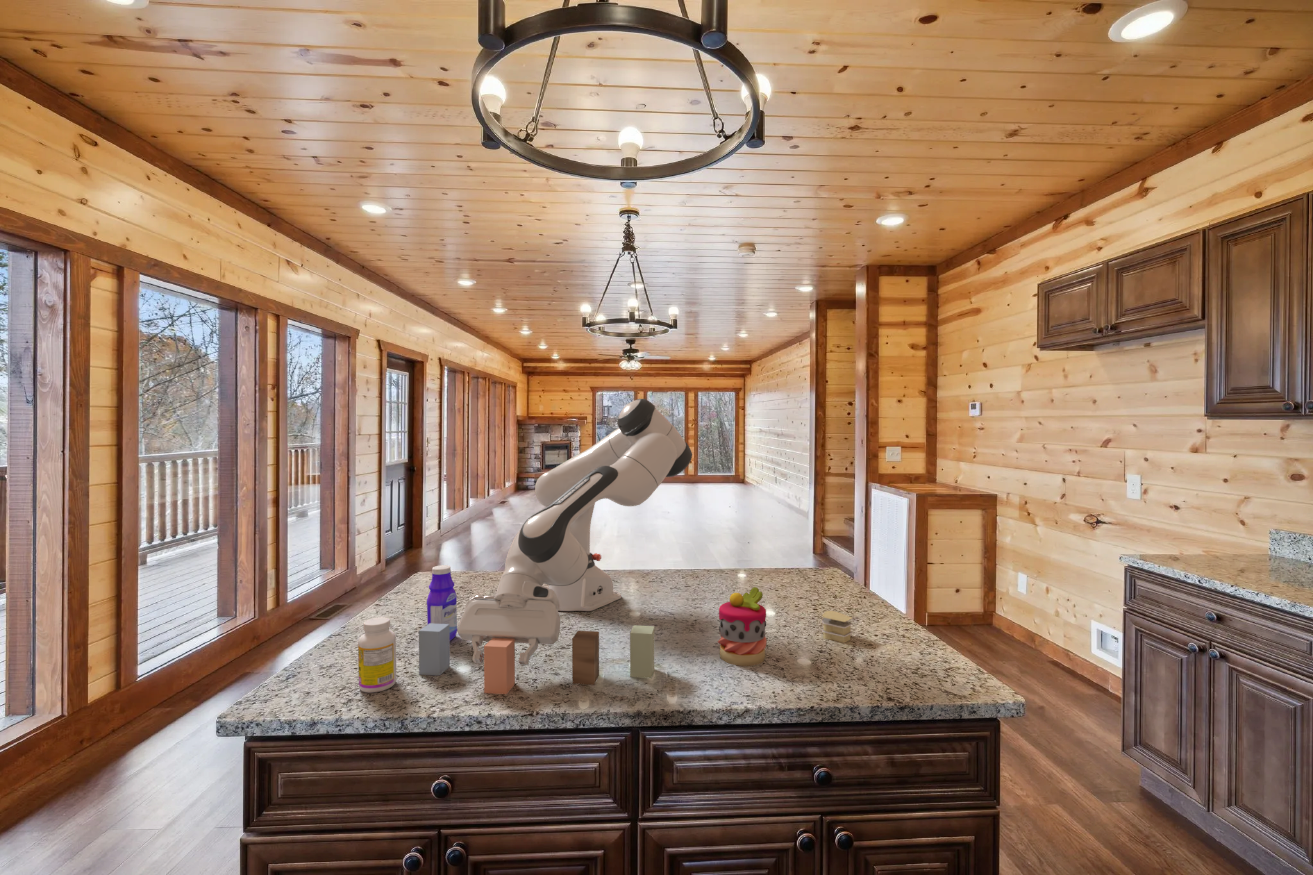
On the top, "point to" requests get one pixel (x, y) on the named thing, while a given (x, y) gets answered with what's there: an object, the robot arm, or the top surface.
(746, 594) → the cake
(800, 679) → the top surface
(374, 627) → the supplement bottle
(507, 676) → the terracotta block
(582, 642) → the walnut block
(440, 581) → the bottle
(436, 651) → the slate block
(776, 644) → the top surface
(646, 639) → the sage block
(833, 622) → the pale yellow layered block
